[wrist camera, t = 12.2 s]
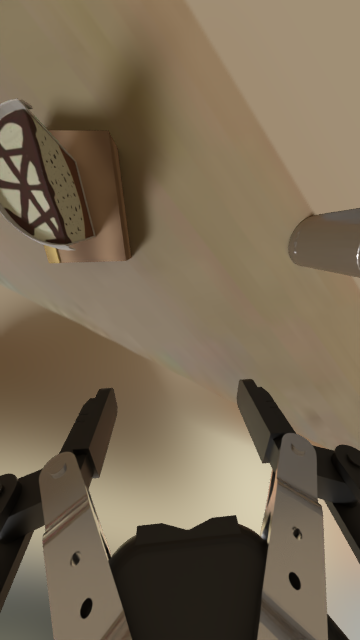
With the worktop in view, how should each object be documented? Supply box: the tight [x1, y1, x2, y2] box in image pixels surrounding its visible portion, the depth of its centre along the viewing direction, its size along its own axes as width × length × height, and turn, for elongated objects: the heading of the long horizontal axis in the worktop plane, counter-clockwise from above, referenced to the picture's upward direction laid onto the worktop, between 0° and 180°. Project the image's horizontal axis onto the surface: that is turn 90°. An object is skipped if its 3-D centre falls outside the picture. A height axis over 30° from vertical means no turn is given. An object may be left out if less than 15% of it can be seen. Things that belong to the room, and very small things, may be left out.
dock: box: [44, 130, 131, 263], centre depth 29 cm, size 12×16×5 cm
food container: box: [0, 99, 96, 250], centre depth 22 cm, size 12×6×10 cm, turn 5°
